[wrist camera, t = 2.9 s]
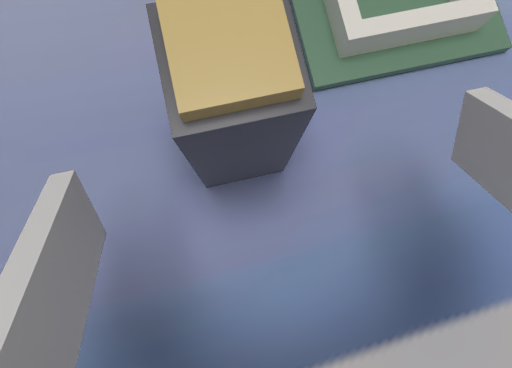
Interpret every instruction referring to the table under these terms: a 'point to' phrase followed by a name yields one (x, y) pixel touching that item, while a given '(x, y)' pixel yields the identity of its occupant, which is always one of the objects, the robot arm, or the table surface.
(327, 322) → the table surface
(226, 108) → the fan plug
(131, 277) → the table surface
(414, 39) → the green square tray
